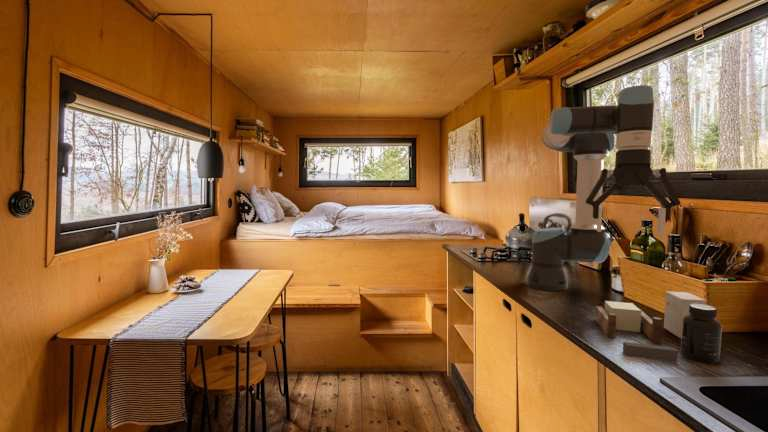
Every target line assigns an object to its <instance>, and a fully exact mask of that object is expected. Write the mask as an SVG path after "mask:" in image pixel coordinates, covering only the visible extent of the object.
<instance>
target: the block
mask: <svg viewBox="0 0 768 432" xmlns="http://www.w3.org/2000/svg"><path fill="white" fill-rule="evenodd" d="M603 309H604V310H605V311H606V312H607V313H614V314H615V315H616V330H617V331H628V332H635V333H636V332H637V333H640V332H641V329H640V325H641V311H642V309H640V308H639V307H637V305H635V304H634V303H633V302H622V301H621V302H620V301H612V300H604V308H603Z"/></svg>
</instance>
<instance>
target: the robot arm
mask: <svg viewBox="0 0 768 432" xmlns="http://www.w3.org/2000/svg"><path fill="white" fill-rule="evenodd" d="M655 101H656V99H655V89H654V87H653V86H651V85H647V84H646V85H645V84H644V85H634V86H629V87H628V86H627V87H625V88H622V89H620V91H619V93H618V99H617V104H607V105H606V104H605V105H593V106H592V105H591V106H573V107H568V106H563V107H559V108H558V107H557V108H553V109H552V110H551V114H550V118H549V123H548V124H547V125H546V126H545V127H544V128H543V131H542V133H541V141H542V143H543V144H544V145H545V146H546V147H547V148H549V149H551V150H552V151H556V152H559V153H573V159H575V160H576V161H577V165H576V166H577V170H576V171H577V172H576V174H577V175H576V193H575V194H576V197H575V217H574V218H575V219H574V220H575V221H574V224H572V225H571V226H570V231H566V229H565V227H548V228H540V229H536V230H534V232H533V233H532V239H531V246H532V248H531V266H530V269H529V271H528V274H527V276H526V279H525V281H526V282H525V285H526V286H528V287H529V288H532V289H536V290H539V291H549V292H551V291H552V292H563V291H566V290H567V289H568V285H569V283H568V279H567V276H566V272H565V270H564V262H569V263H570V262H572V263H589V264H600V263H603V262H605V261H606V260H607V259H608V256H609V254H610V249H611V242H612V241H611V235H610V234H609V233H608V232H606V227H604V226H603V222H602V221H603V206H602V203H603V202H604V201H605V200H607V199H608V198H609V197H610V196H611V195H612V194H613V193H614V192H615V191H616V189H618V188H619V187H621V186H622V187H641V186H642V187H643V188H644V189H645V190H646V191H648V192H649V193H650V195H651V196H652V197H653V198H654V199H655V200H656V201H657V202H658V204H660V205H661V207H658V215H657V229H656V230H657V234H659V235H665V232H666V231H665V230H666V228H665V227H666V221H667V222H669V221H670V219H671V209H672V208H674V207H676V206H680V205H681V200H680V198H679V197H678V195H677V193H676V191H675V190H674V188H673V186H672V184H671V182H670V180H669V179H668V176H667V169H666V168H665V167H661V168H657V169H652V167H651V163H652V162H651V161H652V150H651V149H650V148H651V147H652V144H653V139H652V138H653V127H654V126H653V125H654V124H653V123H654V113H655V112H654V110H655ZM615 135H616V136H615ZM615 148H616V150H617V151H616V152H615V161H614V162H615V164H614V168H613V169H607V168H604V160H605V159H606V158H607V157H609V152H612V151H613V150H614V149H615ZM611 175H613V177H614V178H615V181H613V182H612V184H611V185H610V186H608V187H607V189H605V191H604V192H603V185H604V183H605V182H606V179H608V178H610V177H611ZM652 175H654V177H655V178H657V180H658V182H659V183H660V185H661V187H662V189H663V191H664V193H665V194H666V196H667V198H666V197H665V196H664V195H663V194H662V193H661V192H660V191H659V190H658V189H657V188H656V186H655V185H653V183H652V182H651V181H650V180H649V179H650V177H651V176H652Z"/></svg>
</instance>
